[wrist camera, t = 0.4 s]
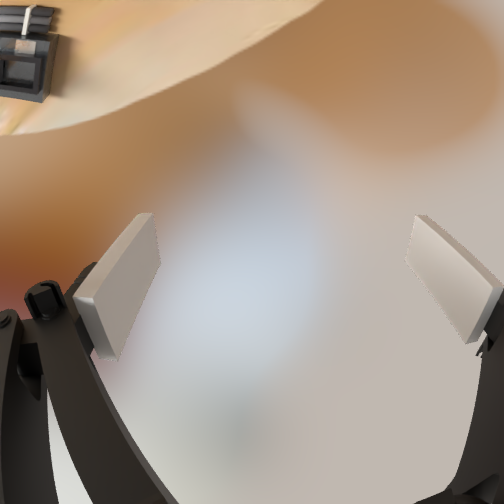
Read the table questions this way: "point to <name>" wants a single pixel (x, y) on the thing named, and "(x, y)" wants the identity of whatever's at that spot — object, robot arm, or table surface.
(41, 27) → the cord bundle
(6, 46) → the breaker panel
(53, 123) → the table surface
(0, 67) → the breaker toggle
